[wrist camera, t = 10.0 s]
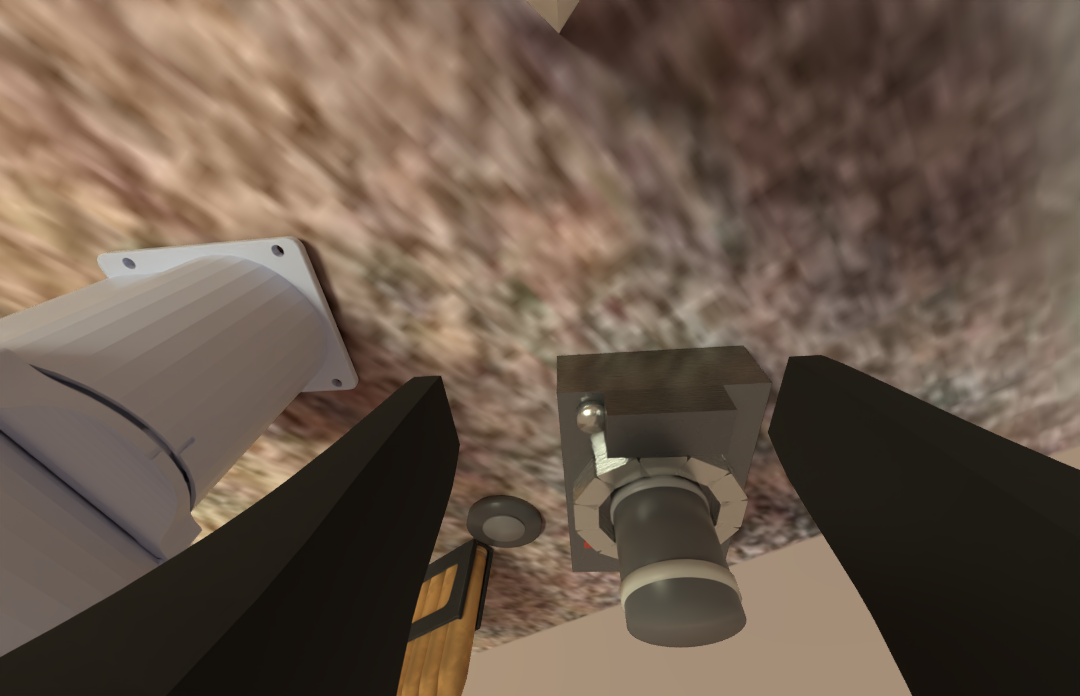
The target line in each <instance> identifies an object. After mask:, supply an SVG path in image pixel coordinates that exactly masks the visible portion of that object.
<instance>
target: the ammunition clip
mask: <svg viewBox="0 0 1080 696" xmlns="http://www.w3.org/2000/svg"><path fill="white" fill-rule="evenodd" d="M492 556H493V550H492V549H491V548H489V547H488V546H486V545H484V544H483V543H481V542H479V541H478V540H476V539H472V540H470V541H469V542H467V543H465V544H463V545H462V546H460V547H458V548H457V549H455V550H453V551H452V552H450V553H448V554H446V555H445V556H443V557H441V558H440V559H438V560H436V561H435V562H433V563H431V564H429V565H428V568H427V571H426V575H425V578H424V581H423V584H422V587H421V591H420V594H419V598H418V601H417V605H416V609H415V613H414V616H413V620H412V625H411V629H410V634H409V639H408V643H407V648H406V653H405V657H404V662H403V667H402V671H401V676H400V681H399V686H398V691H397V696H461V694H462V692H463V689H464V685H465V682H466V679H467V674H468V667H469V662H470V656H471V650H472V644H473V638H474V632H475V630H478V629H480V626H481V620H482V614H483V609H484V603H485V597H486V591H487V585H488V579H489V574H490V568H491V562H492Z"/></svg>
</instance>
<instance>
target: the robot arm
mask: <svg viewBox="0 0 1080 696" xmlns="http://www.w3.org/2000/svg"><path fill="white" fill-rule="evenodd" d="M277 245H278V246H280V247H281V248H282V249H283V250H284V254H282V253H281V252H280V251H279V250H278V248H277ZM132 261H133V262H134V263H135V264H134V263H133V262H132ZM97 262H98V264H99V266H100V267H101V269H102V270H103V272H104V273H105V275H106V276H107V277H108V278H107V279H104V280H102V281H99V282H96V283H94V284H91V285H88V286H86V287H83V288H80V289H78V290H75V291H72V292H70V293H67V294H64V295H62V296H59V297H56V298H54V299H51V300H48V301H46V302H43V303H40V304H38V305H35V306H32V307H30V308H27V309H24V310H22V311H19V312H16V313H14V314H11V315H8V316H6V317H3V318H0V696H397V691H398V686H399V681H400V676H401V671H402V667H403V662H404V657H405V653H406V648H407V643H408V639H409V634H410V629H411V625H412V620H413V616H414V613H415V609H416V605H417V601H418V598H419V594H420V591H421V587H422V584H423V581H424V578H425V575H426V571H427V568H428V565H429V562H430V559H431V555H432V552H433V549H434V546H435V543H436V539H437V536H438V533H439V530H440V527H441V523H442V520H443V517H444V513H445V510H446V507H447V504H448V500H449V497H450V494H451V490H452V487H453V481H454V476H455V471H456V465H457V459H458V453H459V447H460V443H459V439H458V436H457V432H456V429H455V425H454V421H453V418H452V414H451V410H450V407H449V403H448V399H447V396H446V392H445V388H444V385H443V381H442V377H441V376H424V377H413V378H412V379H411V380H409V381H408V382H407V383H405V384H404V385H403V386H402V387H400V388H399V389H398V390H397V391H396V392H394V393H393V394H392V395H391V396H390V397H389V398H387V399H386V400H385V401H384V402H383V403H382V404H380V405H379V406H378V407H377V408H376V409H375V410H373V411H372V412H371V413H370V414H369V415H368V416H366V417H365V418H364V419H363V420H362V421H360V422H359V423H358V424H357V425H356V426H354V427H353V428H352V429H351V430H350V431H349V432H347V433H346V434H345V435H344V436H343V437H341V438H340V439H339V440H338V441H337V442H335V443H334V444H333V445H332V446H330V447H329V448H328V449H327V450H325V451H324V452H323V453H321V454H320V455H319V456H318V457H316V458H315V459H314V460H312V461H311V462H310V463H309V464H307V465H306V466H305V467H304V468H302V469H301V470H300V471H298V472H297V473H296V474H295V475H293V476H292V477H291V478H290V479H288V480H287V481H286V482H284V483H283V484H282V485H280V486H279V487H278V488H276V489H275V490H273V491H272V492H271V493H269V494H268V495H266V496H265V497H264V498H262V499H261V500H259V501H258V502H257V503H255V504H254V505H252V506H251V507H249V508H248V509H247V510H245V511H244V512H242V513H241V514H239V515H238V516H236V517H235V518H233V519H232V520H230V521H229V522H227V523H226V524H224V525H223V526H222V527H220V528H219V529H217V530H216V531H214V532H213V533H211V534H209V535H208V536H206V537H205V538H203V539H202V540H200V541H199V542H197V543H195V544H194V545H192V546H190V547H189V548H188V546H189V545H190V544H191V543H192V542H193V541H194V539H195V538H196V537H197V536H198V535H199V533H200V532H201V531H202V529H201V527H200V526H199V525H198V524H197V523H196V522H195V520H194V519H193V517H192V515H191V511H192V510H193V509H194V508H195V507H196V506H197V505H198V504H199V503H200V501H201V500H202V499H203V498H204V497H205V496H206V495H207V494H208V493H209V492H210V491H211V489H212V488H213V487H214V486H215V485H216V484H217V483H218V482H219V481H220V480H221V478H222V477H223V476H224V475H225V474H226V473H227V472H228V471H229V470H230V469H231V468H232V466H233V465H234V464H235V463H236V462H237V461H238V460H239V459H240V458H241V457H242V455H243V454H244V453H245V452H246V451H247V450H248V449H249V448H250V447H251V446H252V444H253V443H254V442H255V441H256V440H257V439H258V438H259V437H260V436H261V435H262V434H263V432H264V431H265V430H266V429H267V428H268V427H269V426H270V425H271V424H272V423H273V421H274V420H275V419H276V418H277V417H278V416H279V415H280V414H281V413H282V412H283V411H284V409H285V408H286V407H287V406H288V405H289V404H290V403H291V402H292V401H293V400H294V398H295V397H296V396H297V395H298V394H299V393H300V392H314V391H333V390H350V389H353V388H355V387H356V385H357V384H358V382H359V380H358V376H357V374H356V372H355V369H354V367H353V364H352V362H351V359H350V357H349V354H348V352H347V350H346V347H345V345H344V342H343V340H342V337H341V335H340V332H339V330H338V328H337V325H336V323H335V320H334V318H333V315H332V313H331V310H330V308H329V306H328V303H327V301H326V298H325V296H324V293H323V291H322V288H321V286H320V284H319V281H318V279H317V276H316V274H315V271H314V269H313V266H312V264H311V262H310V259H309V257H308V254H307V252H306V249H305V247H304V245H303V244H302V242H301V241H300V240H299V239H297V238H295V237H292V236H285V237H273V238H262V239H250V240H239V241H227V242H216V243H204V244H193V245H182V246H170V247H159V248H147V249H136V250H124V251H113V252H107V253H104V254H101V255H99V256H98V257H97ZM336 379H338V380H340V381H341V382H342V383H341V382H338V381H337V380H336ZM768 434H769V436H770V439H771V441H772V443H773V446H774V448H775V451H776V453H777V455H778V458H779V460H780V462H781V464H782V466H783V468H784V470H785V473H786V475H787V477H788V479H789V480H790V482H791V484H792V485H793V487H794V489H795V490H796V492H797V494H798V495H799V497H800V499H801V500H802V502H803V503H804V505H805V507H806V508H807V510H808V512H809V513H810V515H811V517H812V518H813V520H814V521H815V523H816V525H817V526H818V528H819V529H820V531H821V533H822V534H823V536H824V537H825V539H826V541H827V542H828V544H829V545H830V547H831V549H832V550H833V552H834V553H835V555H836V557H837V558H838V560H839V561H840V563H841V565H842V566H843V568H844V570H845V571H846V573H847V574H848V576H849V578H850V579H851V581H852V582H853V584H854V585H855V587H856V589H857V590H858V592H859V594H860V596H861V598H862V599H863V601H864V603H865V604H866V606H867V608H868V610H869V611H870V613H871V615H872V617H873V619H874V620H875V622H876V624H877V626H878V628H879V630H880V632H881V634H882V636H883V638H884V640H885V642H886V644H887V646H888V648H889V650H890V652H891V654H892V656H893V658H894V660H895V662H896V664H897V666H898V668H899V670H900V672H901V674H902V676H903V678H904V680H905V682H906V684H907V686H908V688H909V690H910V692H911V694H912V696H1080V470H1079V469H1076V468H1074V467H1071V466H1068V465H1066V464H1064V463H1061V462H1059V461H1057V460H1055V459H1052V458H1050V457H1048V456H1045V455H1043V454H1041V453H1038V452H1036V451H1034V450H1031V449H1029V448H1027V447H1024V446H1022V445H1020V444H1017V443H1015V442H1013V441H1010V440H1008V439H1006V438H1003V437H1001V436H999V435H996V434H994V433H992V432H990V431H988V430H985V429H983V428H981V427H979V426H976V425H974V424H972V423H970V422H968V421H965V420H963V419H961V418H959V417H957V416H955V415H952V414H950V413H948V412H946V411H944V410H942V409H939V408H937V407H935V406H933V405H931V404H929V403H927V402H925V401H922V400H920V399H918V398H916V397H914V396H912V395H910V394H908V393H905V392H903V391H901V390H899V389H897V388H895V387H893V386H891V385H889V384H886V383H884V382H882V381H880V380H878V379H876V378H874V377H871V376H869V375H867V374H865V373H863V372H861V371H858V370H856V369H854V368H852V367H850V366H847V365H845V364H843V363H840V362H838V361H835V360H833V359H830V358H828V357H825V356H822V355H814V356H795V357H789V359H788V362H787V366H786V370H785V373H784V377H783V380H782V384H781V387H780V391H779V395H778V398H777V402H776V405H775V409H774V412H773V416H772V420H771V423H770V427H769V430H768Z"/></svg>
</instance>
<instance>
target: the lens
mask: <svg viewBox="0 0 1080 696" xmlns="http://www.w3.org/2000/svg"><path fill="white" fill-rule="evenodd" d="M610 498H611V502H610V515H611V521H612V523H613V525H614V530H615V537H616V545H617V553H618V561H619V569H620V576H621V585H620V596H621V604H622V609H623V611H624V613H625V615H626V623H627V629H628V631H629V632H630V634H631V635H632V636H634V637H635V638H637V639H639V640H641V641H643V642H646V643H649V644H653V645H658V646H666V647H695V646H702V645H708V644H713V643H716V642H719V641H723V640H725V639H728V638H730V637H732V636H734V635H735V634H737V633H738V632H740V631H741V630H742V629H743V627H744V626H745V624H746V616H745V614H744V610H743V607H742V604H741V601H742V597H741V594H740V591H739V588H738V585H737V582H736V580H735V577H734V575H733V574H732V573H731V572H730V571H729V567H728V565H727V562H726V559H725V556H724V553H723V550H722V548H721V545H720V542H719V539H718V536H717V533H716V530H715V528H714V525H713V522H712V519H711V516H710V513H709V512H710V508H709V504H708V501H707V498H706V495H705V493H704V491H703V490H702V489H701V488H700V485H699V483H698V482H695V481H693V480H690V479H687V478H685V477H682V476H650V477H643V478H640V479H638V480H635V481H633V482H630V483H628V484H625V485H623V486H620V487H618V488H616V489H614V490H613V491H612V493H611V494H610Z"/></svg>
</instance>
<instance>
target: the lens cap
mask: <svg viewBox="0 0 1080 696" xmlns="http://www.w3.org/2000/svg"><path fill="white" fill-rule="evenodd" d="M467 528H468V531H469V532H470V534H471V535H472V536H473V537H474V538H475V539H477V540H478V541H480V542H482V543H484V544H487V545H490V546H495V547H502V548H512V547H519V546H523V545H526V544H528V543H530V542H532V541H533V540H535V539H536V538H537V537H538V536H539V534H540V532H541V516H540V514H539V512H538V510H537V509H536V508H535V507H534V506H533V505H531V504H530V503H528V502H527V501H525V500H522V499H520V498H517V497H512V496H505V495H497V496H490V497H486V498H483V499H481V500H479V501H477V502H476V503H475V504H474V505H473V506H472V507H471V508H470V510H469V514H468V519H467Z"/></svg>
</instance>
